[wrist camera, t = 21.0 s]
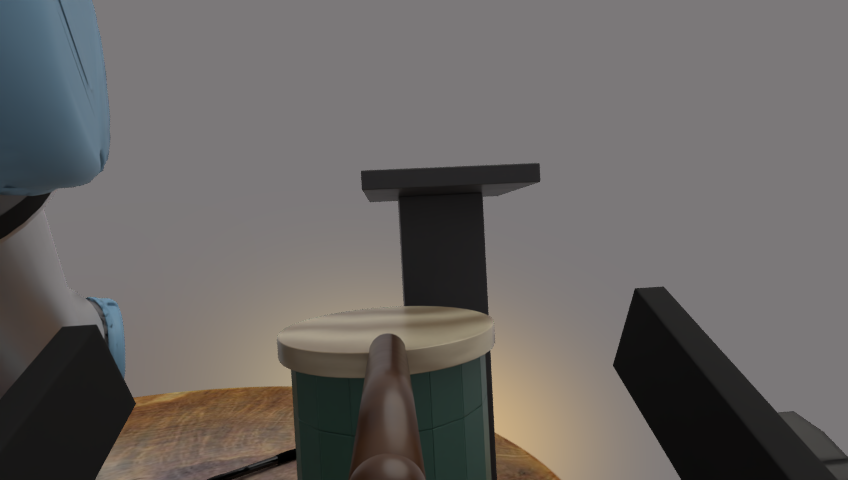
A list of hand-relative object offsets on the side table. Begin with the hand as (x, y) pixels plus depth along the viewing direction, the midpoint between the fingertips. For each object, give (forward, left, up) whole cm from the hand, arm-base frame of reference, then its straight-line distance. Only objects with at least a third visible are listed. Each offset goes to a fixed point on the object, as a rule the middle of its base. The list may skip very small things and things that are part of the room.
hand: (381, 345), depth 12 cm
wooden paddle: (-8, +5, -4) cm, 10 cm away
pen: (-45, +8, -24) cm, 51 cm away
